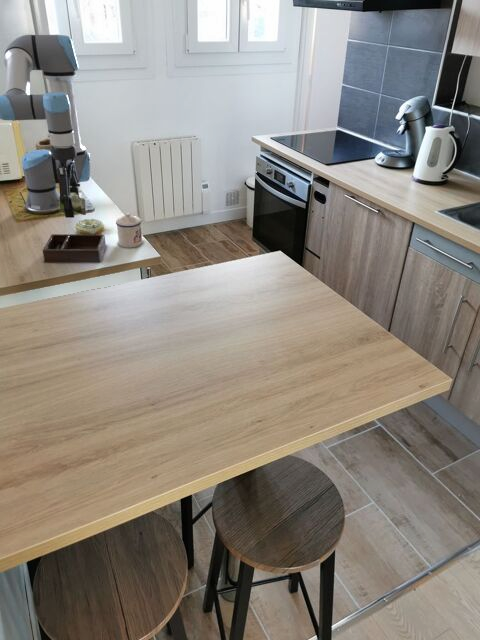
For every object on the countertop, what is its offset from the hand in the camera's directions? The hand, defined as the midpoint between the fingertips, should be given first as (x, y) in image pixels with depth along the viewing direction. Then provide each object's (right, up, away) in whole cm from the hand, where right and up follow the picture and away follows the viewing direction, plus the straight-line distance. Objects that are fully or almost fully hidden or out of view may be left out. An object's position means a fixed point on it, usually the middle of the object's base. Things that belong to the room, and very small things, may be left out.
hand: (73, 211), depth 178 cm
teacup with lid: (+17, -8, +17) cm, 25 cm away
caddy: (-1, -14, +7) cm, 16 cm away
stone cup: (-37, +39, +84) cm, 100 cm away
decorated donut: (-1, -3, +24) cm, 24 cm away
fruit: (0, -1, 0) cm, 0 cm away
